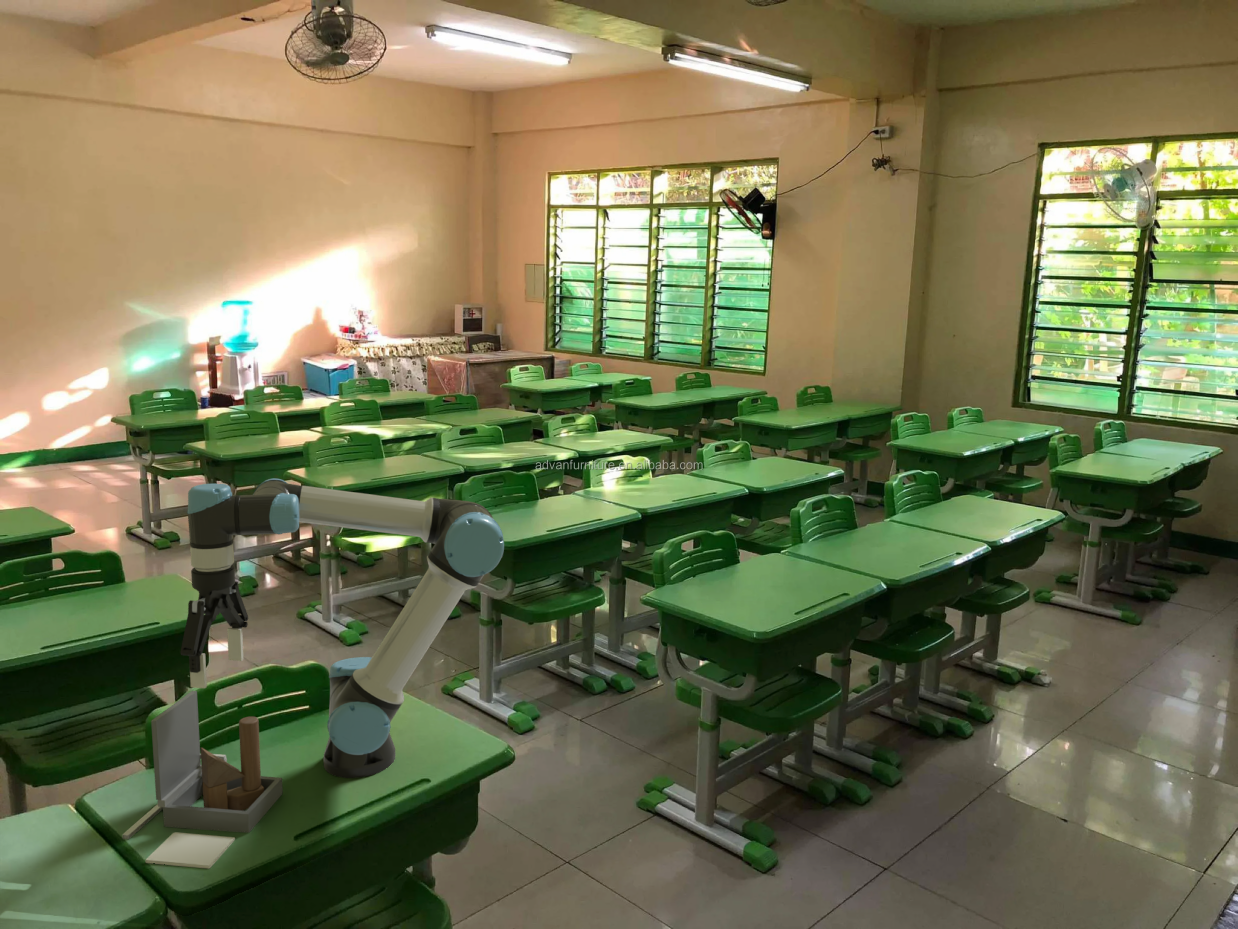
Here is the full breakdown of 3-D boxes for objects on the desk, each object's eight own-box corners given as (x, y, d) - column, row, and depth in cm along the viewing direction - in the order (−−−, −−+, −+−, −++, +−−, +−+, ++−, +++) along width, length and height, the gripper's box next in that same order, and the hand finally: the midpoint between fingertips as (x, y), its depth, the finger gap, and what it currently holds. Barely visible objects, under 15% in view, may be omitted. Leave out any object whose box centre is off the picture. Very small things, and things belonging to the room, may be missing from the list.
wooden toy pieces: (203, 815, 185) (199, 728, 182) (258, 797, 192) (254, 713, 189) (210, 823, 182) (205, 735, 179) (265, 804, 190) (262, 720, 187)
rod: (160, 807, 188) (160, 801, 188) (166, 807, 188) (165, 802, 188) (122, 840, 177) (122, 834, 176) (128, 841, 176) (128, 835, 176)
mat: (235, 840, 177) (234, 837, 177) (209, 868, 168) (209, 865, 168) (174, 835, 178) (173, 832, 178) (145, 862, 169) (145, 859, 169)
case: (284, 794, 194) (280, 695, 190) (249, 833, 179) (244, 727, 176) (199, 787, 195) (194, 689, 192) (157, 825, 181) (151, 720, 177)
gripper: (227, 548, 191) (232, 648, 195) (155, 584, 167) (161, 698, 170) (263, 550, 190) (267, 650, 194) (195, 586, 166) (201, 701, 169)
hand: (218, 673), depth 182 cm, fingers open, 13 cm apart
